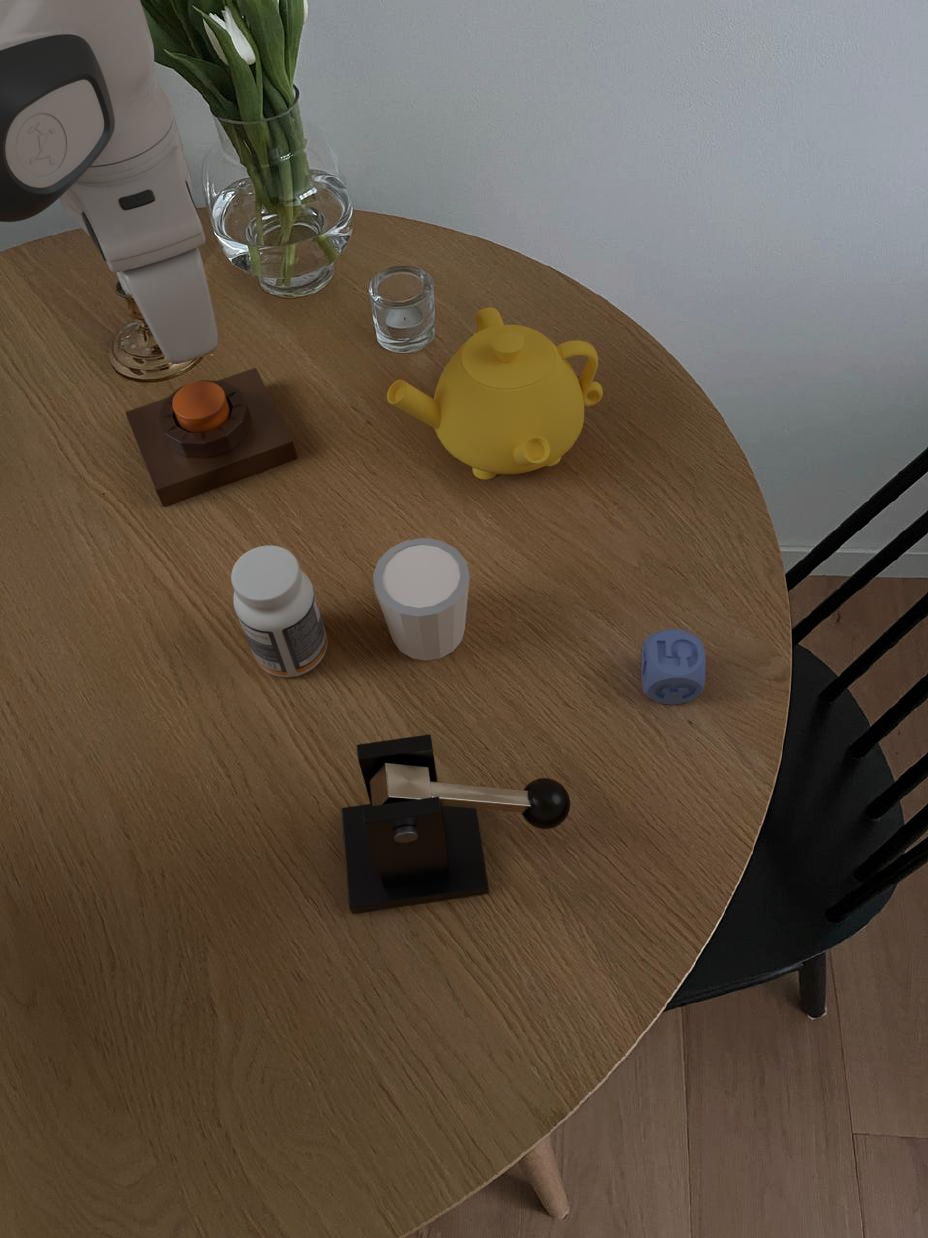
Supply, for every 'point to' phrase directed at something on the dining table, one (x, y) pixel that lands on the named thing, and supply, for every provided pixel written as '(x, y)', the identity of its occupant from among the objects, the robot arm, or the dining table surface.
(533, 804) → the silver lever with knob
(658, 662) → the decorative dice
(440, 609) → the white faceted cylinder
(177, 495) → the button block
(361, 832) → the black lever base
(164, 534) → the dining table surface
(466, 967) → the dining table surface
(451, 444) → the teapot
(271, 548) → the pill bottle
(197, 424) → the button
